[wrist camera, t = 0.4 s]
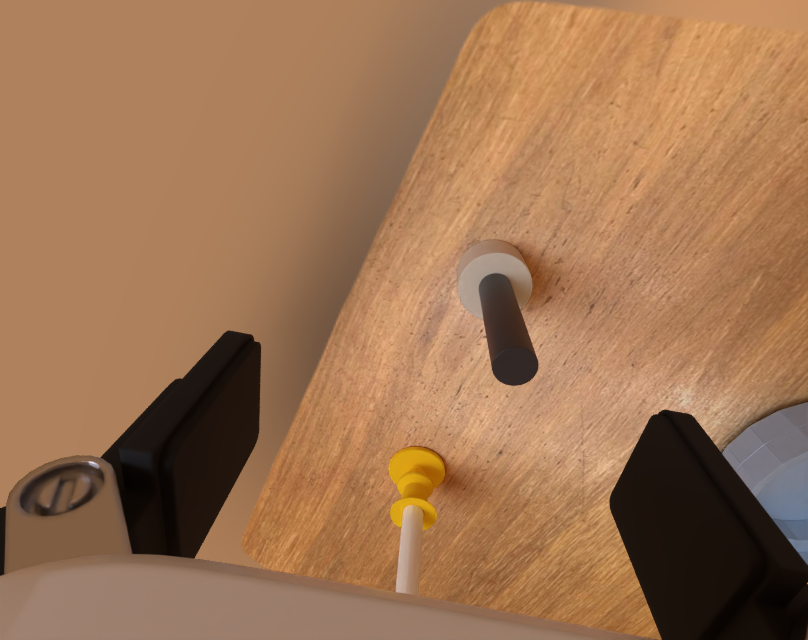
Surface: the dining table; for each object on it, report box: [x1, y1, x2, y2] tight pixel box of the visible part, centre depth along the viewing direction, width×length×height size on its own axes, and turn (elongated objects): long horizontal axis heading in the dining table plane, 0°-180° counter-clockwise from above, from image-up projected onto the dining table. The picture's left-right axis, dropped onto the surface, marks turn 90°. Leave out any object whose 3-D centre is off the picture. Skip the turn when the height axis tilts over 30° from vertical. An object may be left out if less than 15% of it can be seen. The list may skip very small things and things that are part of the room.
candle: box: [389, 447, 445, 596], centre depth 36 cm, size 5×5×16 cm
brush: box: [457, 240, 538, 386], centre depth 28 cm, size 5×5×13 cm
